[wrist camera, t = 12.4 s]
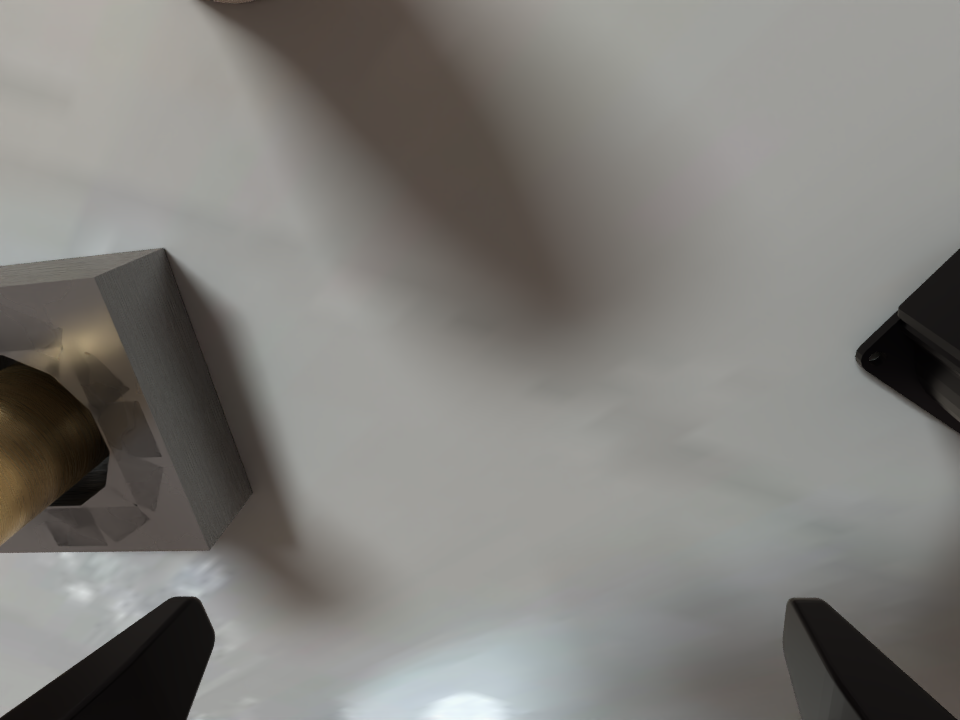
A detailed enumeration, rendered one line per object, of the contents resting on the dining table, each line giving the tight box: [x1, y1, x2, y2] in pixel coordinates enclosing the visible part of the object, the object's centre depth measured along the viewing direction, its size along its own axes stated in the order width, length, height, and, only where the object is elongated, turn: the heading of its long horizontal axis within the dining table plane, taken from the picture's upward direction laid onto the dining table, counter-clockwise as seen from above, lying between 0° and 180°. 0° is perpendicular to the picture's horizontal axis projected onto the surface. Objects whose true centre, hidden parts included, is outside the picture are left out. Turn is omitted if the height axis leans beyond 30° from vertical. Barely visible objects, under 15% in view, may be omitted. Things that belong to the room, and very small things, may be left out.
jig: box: [0, 248, 252, 553], centre depth 23 cm, size 11×11×4 cm
